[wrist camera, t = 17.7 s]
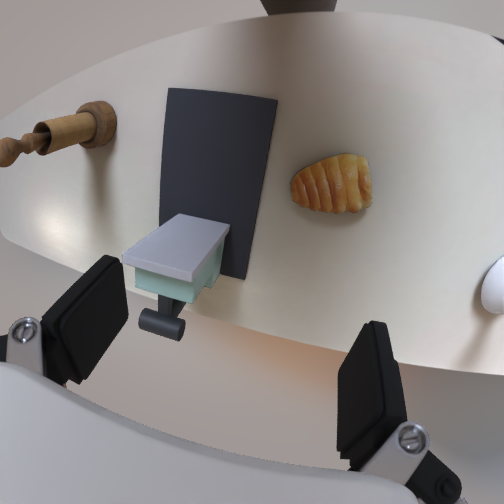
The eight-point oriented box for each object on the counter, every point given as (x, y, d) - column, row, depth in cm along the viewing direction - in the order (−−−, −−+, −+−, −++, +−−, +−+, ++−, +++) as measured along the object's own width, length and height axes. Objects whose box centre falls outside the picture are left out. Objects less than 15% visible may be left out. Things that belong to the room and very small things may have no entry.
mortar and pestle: (96, 91, 32) (-10, 111, 17) (125, 118, 34) (18, 148, 18) (76, 128, 35) (-23, 162, 20) (101, 154, 37) (4, 200, 21)
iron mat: (170, 87, 31) (168, 87, 30) (277, 100, 30) (277, 100, 29) (160, 256, 43) (158, 258, 43) (245, 277, 42) (244, 280, 42)
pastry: (297, 214, 36) (295, 227, 33) (285, 161, 33) (282, 168, 30) (372, 203, 34) (378, 215, 30) (364, 148, 31) (371, 154, 27)
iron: (121, 253, 25) (125, 333, 29) (192, 272, 25) (185, 354, 29) (178, 213, 38) (173, 276, 42) (230, 224, 38) (220, 288, 41)
